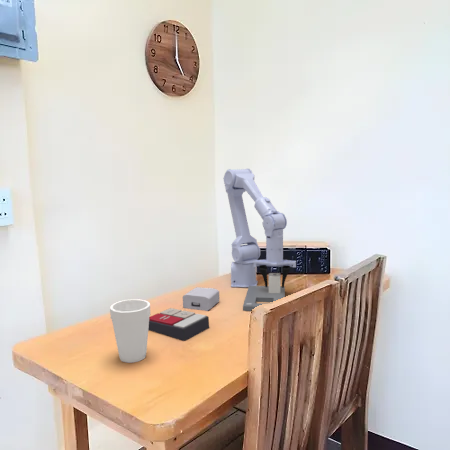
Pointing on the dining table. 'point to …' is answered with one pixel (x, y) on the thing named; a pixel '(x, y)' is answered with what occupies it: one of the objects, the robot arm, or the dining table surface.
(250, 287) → the socket board
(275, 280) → the charger
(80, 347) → the dining table surface
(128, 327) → the foam cup
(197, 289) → the charger
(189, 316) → the black button box
